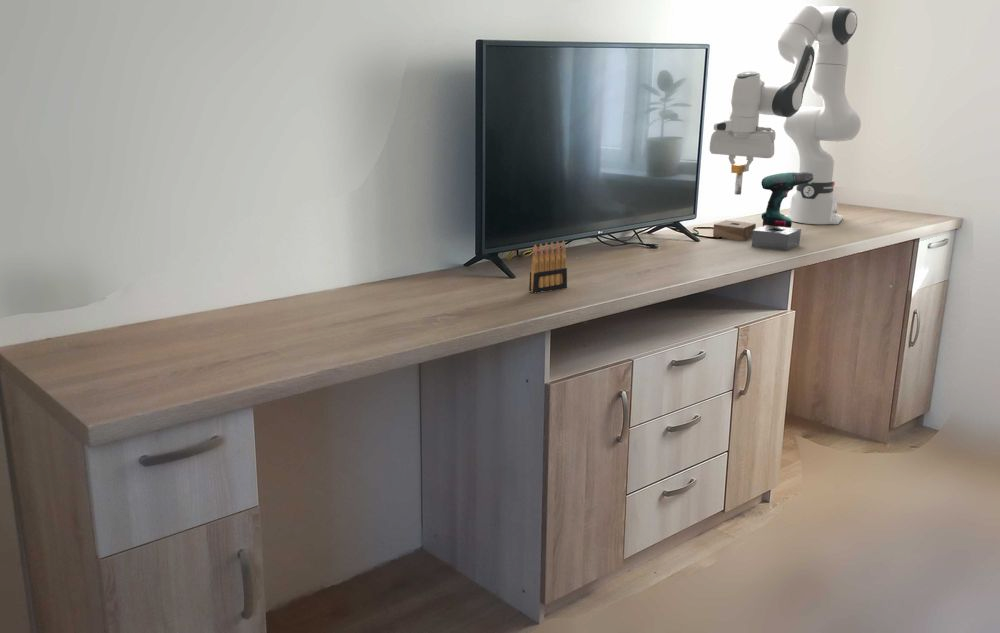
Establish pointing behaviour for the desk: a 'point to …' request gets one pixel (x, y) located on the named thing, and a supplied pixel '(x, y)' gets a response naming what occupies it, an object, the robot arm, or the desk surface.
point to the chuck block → (776, 237)
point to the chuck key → (738, 176)
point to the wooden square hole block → (734, 230)
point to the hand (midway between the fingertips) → (739, 170)
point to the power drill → (781, 195)
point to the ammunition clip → (548, 268)
